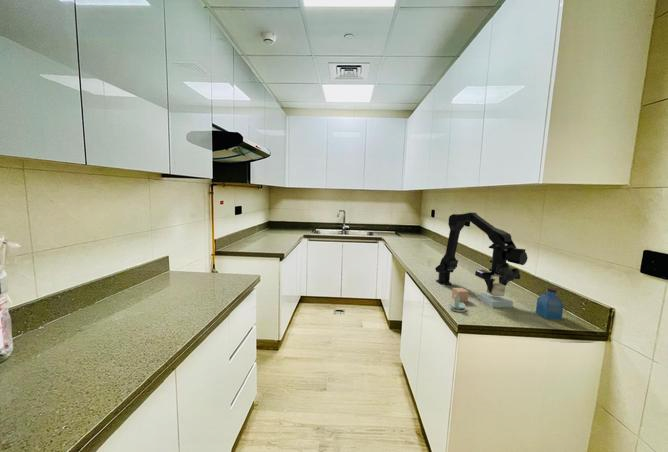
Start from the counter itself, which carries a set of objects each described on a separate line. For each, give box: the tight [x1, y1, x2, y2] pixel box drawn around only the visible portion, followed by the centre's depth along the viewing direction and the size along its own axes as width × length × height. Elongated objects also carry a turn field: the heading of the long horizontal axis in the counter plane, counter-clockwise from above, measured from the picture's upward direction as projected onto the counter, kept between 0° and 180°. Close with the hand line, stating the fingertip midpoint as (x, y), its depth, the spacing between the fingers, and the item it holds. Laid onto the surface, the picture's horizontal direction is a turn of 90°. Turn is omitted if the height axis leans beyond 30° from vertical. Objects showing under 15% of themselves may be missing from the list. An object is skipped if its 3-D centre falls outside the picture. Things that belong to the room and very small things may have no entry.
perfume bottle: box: [535, 286, 565, 321], centre depth 112 cm, size 6×6×12 cm
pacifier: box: [448, 295, 467, 313], centre depth 115 cm, size 7×6×6 cm
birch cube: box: [486, 281, 506, 297], centre depth 124 cm, size 5×5×5 cm
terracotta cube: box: [451, 287, 469, 303], centre depth 127 cm, size 5×5×5 cm
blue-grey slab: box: [477, 292, 514, 308], centre depth 125 cm, size 10×10×3 cm
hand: (495, 292), depth 124 cm, fingers closed on birch cube, 5 cm apart
